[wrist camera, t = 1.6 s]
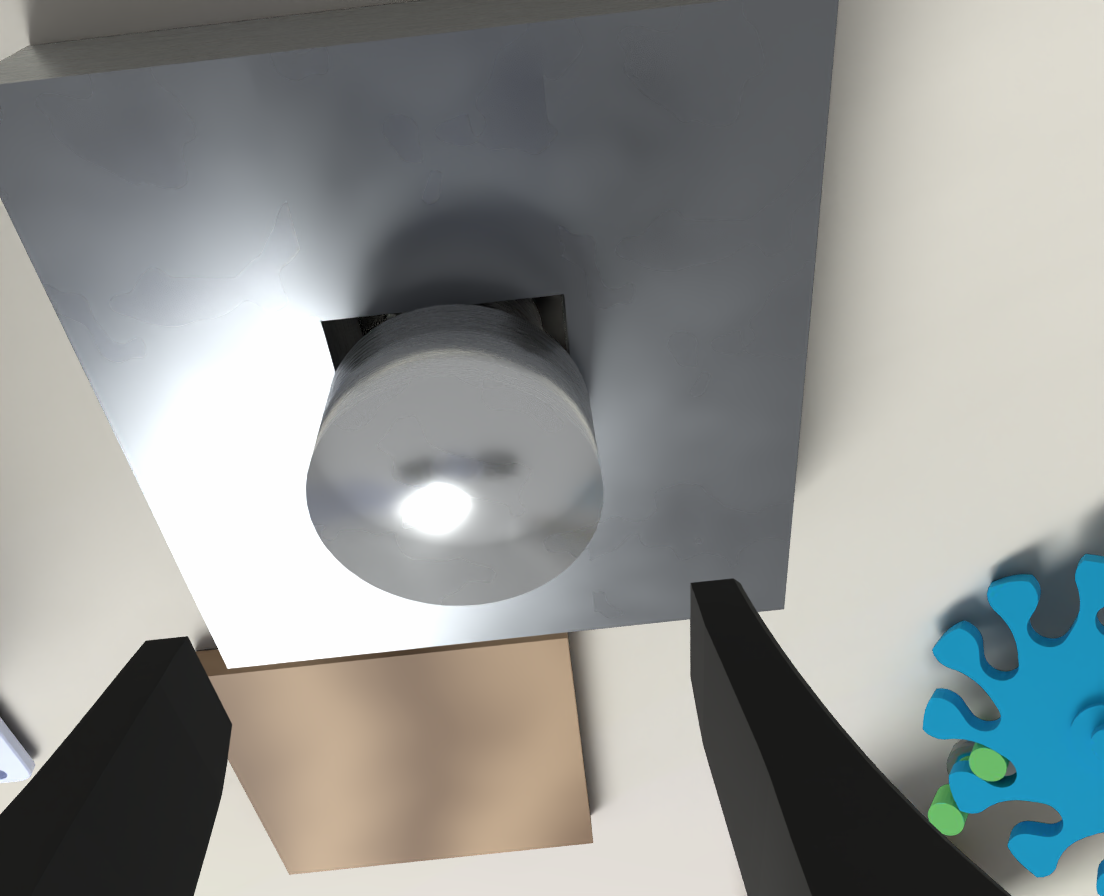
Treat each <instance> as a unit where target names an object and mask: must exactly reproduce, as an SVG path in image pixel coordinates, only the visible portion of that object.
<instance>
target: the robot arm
mask: <svg viewBox="0 0 1104 896" xmlns="http://www.w3.org/2000/svg"><path fill="white" fill-rule="evenodd" d="M690 664H691V682H692V687H693V693H694V698H695V704H696V709H697V715H698V720H699V725H700V731H701V736H702V741H703V746H704V749H705V753H706V756H707V760H708V763H709V766H710V770H711V773H712V777H713V780H714V783H715V787H716V790H717V794H718V797H719V801H720V804H721V807H722V811H723V814H724V817H725V821H726V824H727V828H728V831H729V834H730V838H731V841H732V844H733V848H734V851H735V855H736V858H737V861H738V865H739V868H740V871H741V875H742V878H743V882H744V885H745V888H746V892H747V895H748V896H1011V895H1010V894H1009V893H1008V892H1007V891H1005V890H1004V889H1003V888H1002V887H1001V886H1000V885H999V884H997V883H996V882H995V881H994V880H993V879H992V878H991V877H989V876H988V875H987V874H986V873H985V872H984V871H983V870H981V869H980V868H979V867H978V866H977V865H976V864H975V863H973V862H972V861H971V860H970V859H969V858H968V857H967V856H965V855H964V854H963V853H962V852H961V851H960V850H959V849H958V848H957V847H956V846H955V845H953V844H952V843H951V842H950V841H949V840H948V839H947V838H946V837H945V836H944V835H943V834H942V833H941V832H940V831H939V830H938V829H937V828H936V827H935V826H934V825H933V824H932V823H931V822H930V821H929V820H928V819H926V818H925V817H924V816H923V815H922V814H921V813H920V812H919V811H918V810H917V809H916V808H915V806H914V805H913V804H912V803H911V802H910V801H909V800H908V799H907V798H906V797H905V796H904V795H903V794H902V793H901V792H900V791H899V790H898V789H897V788H896V787H895V786H894V785H893V784H892V783H891V782H890V781H889V780H888V779H887V777H886V776H885V775H884V774H883V773H882V772H881V771H880V770H879V769H878V768H877V767H876V765H875V764H874V763H873V762H872V761H871V760H870V759H869V758H868V757H867V756H866V754H865V753H864V752H863V751H862V750H861V749H860V747H859V746H858V745H857V744H856V743H855V742H854V740H853V739H852V738H851V737H850V736H849V735H848V733H847V732H846V731H845V730H844V729H843V728H842V726H841V725H840V724H839V723H838V722H837V720H836V719H835V718H834V717H833V715H832V714H831V713H830V712H829V711H828V709H827V708H826V707H825V706H824V704H823V703H822V702H821V700H820V699H819V698H818V697H817V695H816V694H815V693H814V691H813V690H812V689H811V687H810V686H809V685H808V684H807V682H806V681H805V680H804V678H803V677H802V676H801V674H800V673H799V672H798V671H797V669H796V668H795V666H794V665H793V664H792V662H791V661H790V660H789V658H788V657H787V655H786V654H785V653H784V651H783V650H782V648H781V647H780V645H779V644H778V642H777V641H776V640H775V638H774V637H773V635H772V634H771V632H770V631H769V629H768V628H767V626H766V625H765V623H764V622H763V620H762V619H761V617H760V615H759V614H758V612H757V611H756V609H755V607H754V606H753V604H752V602H751V601H750V599H749V597H748V596H747V594H746V592H745V590H744V589H743V587H742V585H741V583H739V582H738V581H737V580H735V579H734V578H731V579H721V580H712V581H703V582H693V583H690ZM231 730H232V723H231V721H230V719H229V717H228V715H227V713H226V711H225V709H224V707H223V705H222V703H221V701H220V699H219V697H218V695H217V693H216V691H215V689H214V687H213V685H212V683H211V681H210V679H209V677H208V675H207V673H206V671H205V669H204V667H203V666H202V664H201V662H200V660H199V658H198V656H197V654H196V652H195V650H194V648H193V646H192V644H191V642H190V640H189V638H188V636H186V637H177V638H168V639H158V640H149V641H145V642H144V644H143V645H142V646H141V647H140V648H139V650H138V651H137V652H136V653H135V654H134V656H133V657H132V658H131V659H130V660H129V662H128V663H127V664H126V665H125V667H124V668H123V669H122V670H121V671H120V673H119V674H118V675H117V676H116V678H115V679H114V680H113V681H112V683H111V684H110V685H109V686H108V687H107V689H106V690H105V691H104V692H103V694H102V695H101V696H100V697H99V699H98V700H97V701H96V702H95V704H94V705H93V706H92V707H91V709H90V710H89V711H88V712H87V713H86V715H85V716H84V717H83V718H82V720H81V721H80V722H79V723H78V725H77V726H76V727H75V728H74V729H73V731H72V732H71V733H70V734H69V735H68V737H67V738H66V739H65V740H64V741H63V743H62V744H61V745H60V746H59V747H58V749H57V750H56V751H55V752H54V753H53V755H52V756H51V757H50V758H49V759H48V761H47V762H46V763H45V764H44V765H43V767H42V768H41V769H40V770H39V771H38V773H37V774H36V775H35V776H34V777H33V778H32V780H31V781H30V782H29V783H28V784H27V785H26V786H25V788H24V789H23V790H22V791H21V792H20V793H19V794H18V795H17V797H16V798H15V799H14V800H13V801H12V802H11V803H10V804H9V805H8V807H7V808H6V809H5V810H4V811H3V812H2V813H1V814H0V896H194V892H195V889H196V885H197V882H198V879H199V875H200V872H201V868H202V865H203V861H204V858H205V854H206V851H207V847H208V843H209V840H210V836H211V833H212V829H213V825H214V822H215V818H216V815H217V811H218V807H219V803H220V800H221V796H222V791H223V785H224V779H225V773H226V767H227V760H228V753H229V745H230V738H231ZM34 767H35V763H34V761H33V760H32V758H31V757H30V756H29V754H28V753H27V752H26V750H25V749H24V748H23V746H22V745H21V744H20V743H19V741H18V740H17V739H16V737H15V736H14V735H13V733H12V732H11V731H10V729H9V728H8V727H7V725H6V724H5V723H4V721H3V720H2V719H1V717H0V783H5V782H14V781H22V780H26V779H28V778H29V777H30V776H31V774H32V772H33V770H34Z"/></svg>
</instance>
